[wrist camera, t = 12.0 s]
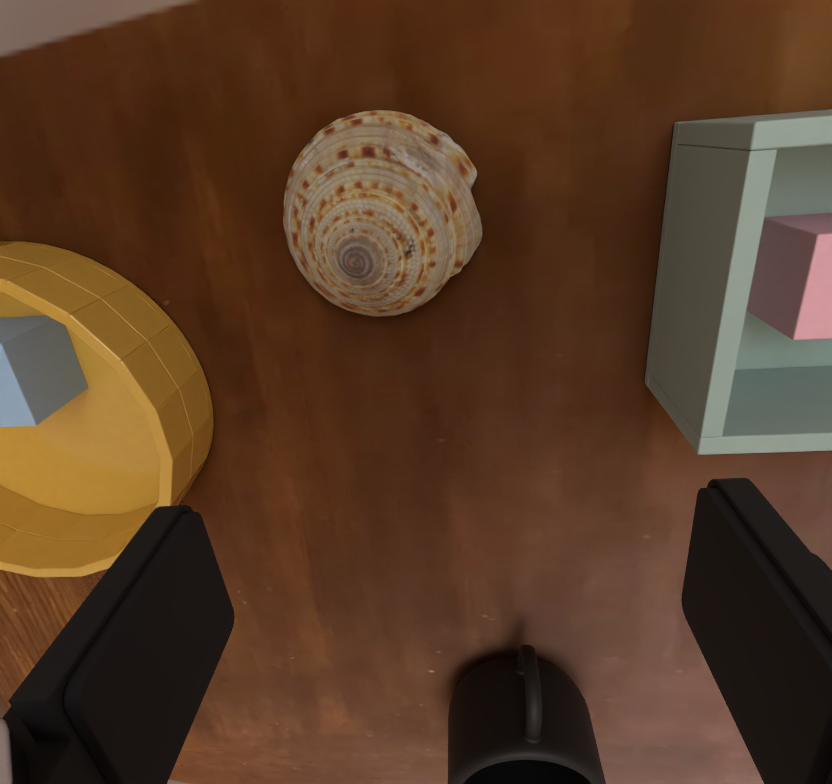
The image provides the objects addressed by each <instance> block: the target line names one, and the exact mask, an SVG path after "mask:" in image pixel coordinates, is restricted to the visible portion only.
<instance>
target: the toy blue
mask: <svg viewBox="0 0 832 784" xmlns="http://www.w3.org/2000/svg"><path fill="white" fill-rule="evenodd" d="M86 389H88V385H87V382H86V380H85V377H84V374H83V372H82V369H81V366H80V364H79V361H78V358H77V356H76V353H75V350H74V348H73V345H72V342H71V340H70V337H69V334H68V331H67V329H66V326H65V325H64V324H62V323H60V322H58V321H57V320H55V319H53V318H51V317H49V316H47V315H40V316H23V317H6V318H0V427H17V426H37V425H38V424H39V423H41V422H42V421H44V420H45V419H46V418H48V417H49V416H50V415H52V414H53V413H55V412H56V411H57V410H59V409H60V408H61V407H63V406H64V405H66V404H67V403H68V402H70V401H71V400H73V399H74V398H75V397H77V396H78V395H79V394H81V393H82V392H84V391H85V390H86Z"/></svg>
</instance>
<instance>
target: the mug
mask: <svg viewBox="0 0 832 784" xmlns="http://www.w3.org/2000/svg"><path fill="white" fill-rule="evenodd" d="M448 784H606V783H605V778H604V774H603V770H602V766H601V762H600V758H599V753H598V749H597V744H596V740H595V736H594V732H593V728H592V723H591V719H590V714H589V711H588V707H587V704H586V702H585V699H584V697H583V696H582V694H581V692H580V691H579V689H578V688H577V686H576V685H575V684H574V683H573V681H572V680H571V679H570V678H569V677H568V676H567V675H566V674H565V673H564V672H563V671H561V670H560V669H558V668H557V667H555V666H553V665H551V664H549V663H546V662H544V661H540V660H537V657H536V653H535V649H534V648H533V647H532V646H530V645H523V646H521V647H520V649H519V653H518V657H507V658H500V659H495V660H491V661H488V662H486V663H483V664H481V665H479V666H477V667H475V668H474V669H472V670H471V671H470V672H469V673H467V674H466V675H465V676H464V678H463V679H462V680H461V681H460V683H459V685H458V686H457V688H456V690H455V692H454V694H453V697H452V700H451V702H450V707H449V715H448Z"/></svg>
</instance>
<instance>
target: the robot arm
mask: <svg viewBox="0 0 832 784" xmlns="http://www.w3.org/2000/svg"><path fill="white" fill-rule="evenodd" d="M682 607H683V612H684V615H685V618H686V620H687V622H688V624H689V626H690V628H691V630H692V633H693V635H694V637H695V639H696V641H697V643H698V645H699V647H700V649H701V651H702V654H703V656H704V658H705V660H706V662H707V664H708V666H709V668H710V670H711V672H712V675H713V677H714V679H715V681H716V683H717V685H718V687H719V689H720V691H721V694H722V696H723V698H724V700H725V702H726V704H727V706H728V708H729V710H730V712H731V715H732V717H733V719H734V721H735V723H736V725H737V727H738V729H739V731H740V733H741V736H742V738H743V740H744V742H745V744H746V746H747V748H748V750H749V752H750V755H751V757H752V759H753V761H754V763H755V765H756V767H757V769H758V771H759V773H760V776H761V778H762V780H763V782H764V784H832V571H831V570H830V568H829V567H828V566H827V565H826V564H825V562H823V561H822V560H821V559H820V558H819V557H818V556H817V555H815V554H813V553H811V552H810V551H809V550H808V548H807V547H806V546H805V545H804V544H803V542H802V541H801V540H800V539H799V538H798V536H797V535H796V534H795V533H794V532H793V531H792V529H791V528H790V527H789V526H788V525H787V523H786V522H785V521H784V520H783V519H782V517H781V516H780V515H779V514H778V513H777V511H776V510H775V509H774V508H773V507H772V505H771V504H770V503H769V502H768V501H767V499H766V498H765V497H764V496H763V495H762V494H761V492H760V491H759V490H758V489H757V488H756V486H755V485H754V484H753V483H752V482H751V481H750V480H749V479H747V478H732V479H713V480H711V481H710V482H709V483H708V486H707V488H701V489H700V490H699V491H698V495H697V501H696V507H695V514H694V520H693V527H692V533H691V540H690V546H689V553H688V559H687V566H686V572H685V579H684V585H683V591H682ZM233 624H234V610H233V607H232V604H231V601H230V598H229V595H228V592H227V589H226V586H225V583H224V581H223V578H222V575H221V572H220V569H219V566H218V563H217V560H216V557H215V554H214V551H213V548H212V546H211V543H210V540H209V537H208V534H207V531H206V528H205V525H204V522H203V519H202V517H201V515H200V514H199V513H197V512H193V510H192V508H191V507H190V506H187V505H179V506H160V507H157V508H155V509H154V510H153V511H152V513H151V514H150V515H149V516H148V518H147V519H146V520H145V522H144V523H143V524H142V526H141V527H140V528H139V530H138V531H137V532H136V534H135V535H134V536H133V538H132V539H131V540H130V542H129V543H128V544H127V545H126V547H125V548H124V549H123V551H122V552H121V553H120V555H119V556H118V557H117V559H116V560H115V561H114V563H113V564H112V565H111V567H110V568H109V569H108V571H107V572H106V573H105V574H104V576H103V577H102V578H101V580H100V581H99V582H98V584H97V585H96V586H95V588H94V589H93V590H92V592H91V593H90V594H89V596H88V597H87V598H86V599H85V601H84V602H83V603H82V605H81V606H80V607H79V609H78V610H77V611H76V613H75V614H74V615H73V617H72V618H71V619H70V621H69V622H68V623H67V625H66V626H65V627H64V628H63V630H62V631H61V632H60V634H59V635H58V636H57V638H56V639H55V640H54V642H53V643H52V644H51V646H50V647H49V648H48V650H47V651H46V652H45V654H44V655H43V656H42V657H41V659H40V660H39V661H38V663H37V664H36V665H35V667H34V668H33V669H32V671H31V672H30V673H29V675H28V676H27V677H26V679H25V680H24V681H23V683H22V684H21V685H20V686H19V688H18V689H17V690H16V692H15V693H14V694H13V696H12V697H11V698H10V700H9V702H10V704H11V705H12V706H11V707H10V709H9V710H8V712H7V713H6V714H5V715H4V717H3V718H0V784H167V782H168V779H169V777H170V775H171V772H172V770H173V768H174V765H175V763H176V761H177V758H178V756H179V753H180V751H181V749H182V746H183V744H184V742H185V739H186V737H187V735H188V732H189V730H190V728H191V725H192V723H193V721H194V718H195V716H196V714H197V711H198V709H199V707H200V704H201V702H202V699H203V697H204V695H205V692H206V690H207V688H208V685H209V683H210V681H211V678H212V676H213V674H214V671H215V669H216V667H217V664H218V662H219V660H220V657H221V655H222V653H223V650H224V648H225V645H226V643H227V641H228V638H229V636H230V634H231V631H232V628H233Z"/></svg>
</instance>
